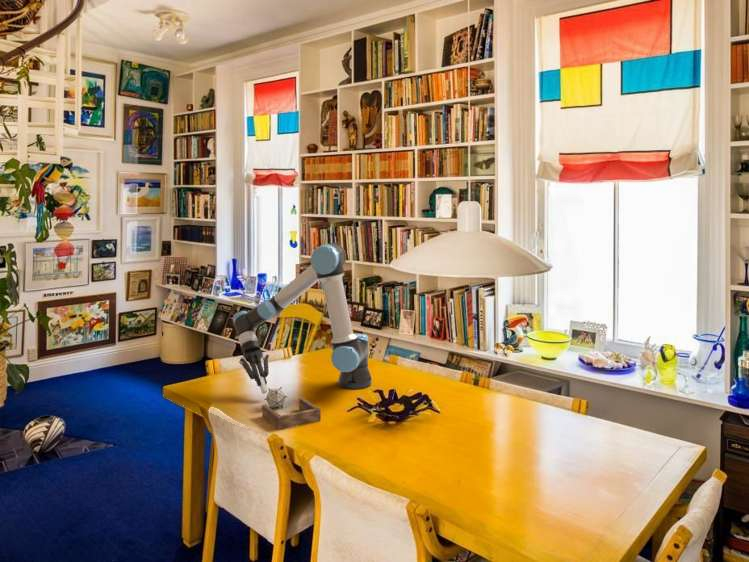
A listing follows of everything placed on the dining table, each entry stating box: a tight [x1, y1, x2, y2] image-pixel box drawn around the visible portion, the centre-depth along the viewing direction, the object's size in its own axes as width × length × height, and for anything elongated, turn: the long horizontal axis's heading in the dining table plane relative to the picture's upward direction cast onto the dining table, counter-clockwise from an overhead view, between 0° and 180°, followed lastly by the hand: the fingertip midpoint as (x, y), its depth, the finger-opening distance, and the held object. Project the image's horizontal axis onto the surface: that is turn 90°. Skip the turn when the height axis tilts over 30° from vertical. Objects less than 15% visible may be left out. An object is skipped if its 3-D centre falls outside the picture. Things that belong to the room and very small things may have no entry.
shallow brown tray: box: [261, 397, 322, 430], centre depth 225 cm, size 17×15×4 cm
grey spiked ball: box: [263, 386, 288, 409], centre depth 236 cm, size 9×8×10 cm
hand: (264, 392), depth 245 cm, fingers closed
